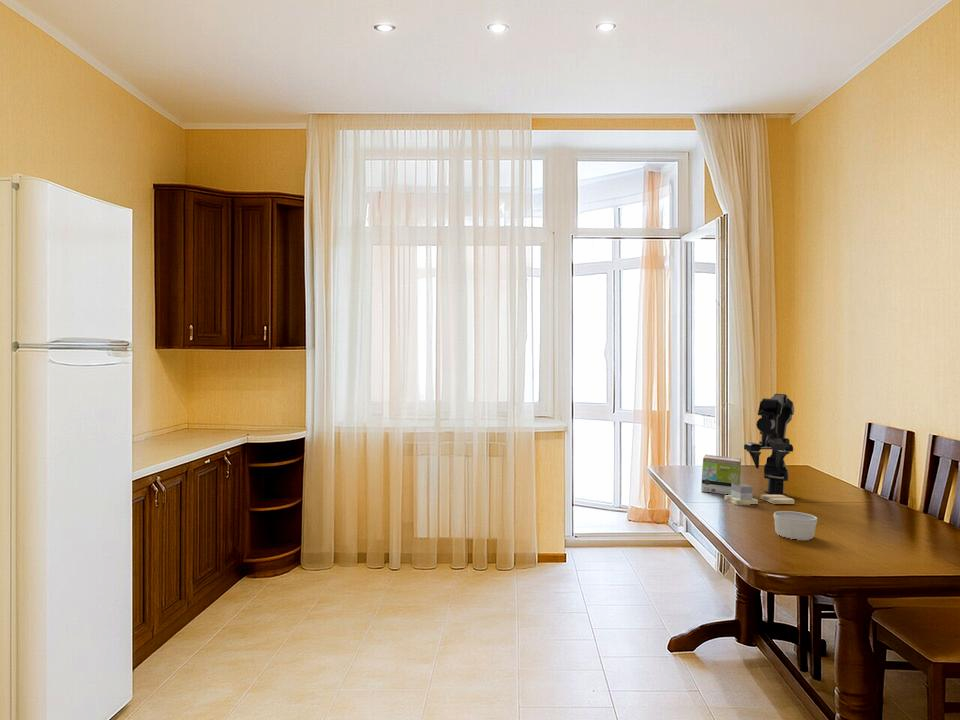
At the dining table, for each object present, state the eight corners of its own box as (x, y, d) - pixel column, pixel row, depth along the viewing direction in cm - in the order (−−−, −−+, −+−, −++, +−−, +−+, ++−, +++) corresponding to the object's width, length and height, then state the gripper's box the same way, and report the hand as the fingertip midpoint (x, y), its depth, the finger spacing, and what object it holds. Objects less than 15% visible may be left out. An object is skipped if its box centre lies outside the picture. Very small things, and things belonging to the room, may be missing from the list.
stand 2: (760, 499, 291) (760, 494, 291) (780, 499, 293) (780, 494, 293) (773, 504, 282) (774, 499, 282) (794, 504, 284) (794, 499, 284)
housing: (730, 495, 287) (731, 483, 287) (742, 495, 288) (742, 483, 288) (740, 499, 280) (741, 486, 280) (752, 499, 281) (752, 486, 281)
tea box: (700, 492, 302) (702, 457, 301) (702, 488, 311) (704, 454, 310) (738, 496, 296) (740, 460, 295) (739, 491, 305) (741, 457, 305)
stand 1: (724, 499, 288) (724, 495, 288) (744, 499, 290) (745, 494, 290) (736, 505, 279) (736, 500, 279) (757, 505, 281) (757, 499, 281)
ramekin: (766, 530, 243) (767, 509, 243) (806, 531, 243) (807, 511, 243) (781, 541, 230) (782, 519, 230) (823, 542, 230) (824, 521, 229)
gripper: (760, 432, 279) (758, 472, 280) (802, 432, 283) (800, 472, 283) (744, 428, 290) (742, 467, 291) (785, 429, 294) (783, 467, 294)
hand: (767, 468), depth 289 cm, fingers open, 9 cm apart
